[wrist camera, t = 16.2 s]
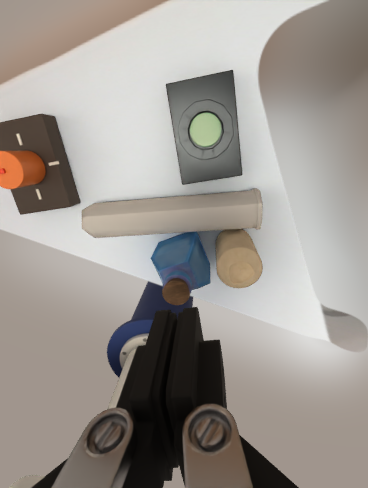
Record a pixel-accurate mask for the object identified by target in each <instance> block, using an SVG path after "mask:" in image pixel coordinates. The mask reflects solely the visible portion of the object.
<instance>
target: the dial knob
mask: <svg viewBox="0 0 368 488" xmlns="http://www.w3.org/2000/svg"><path fill="white" fill-rule="evenodd" d="M44 176H45V165H44V163H43V161H42V159H41V158H40V157H39V156H38V155H37V154H35V153H34V152H31V151H0V186H1V187H3V188H6V189H15V188H20V187H25V186H29V185H34V184H38V183H40V182H41V181H42V180H43V179H44Z"/></svg>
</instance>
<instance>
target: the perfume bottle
mask: <svg viewBox="0 0 368 488" xmlns="http://www.w3.org/2000/svg"><path fill="white" fill-rule="evenodd" d="M151 260H152V262H153V264H154V266H155V268H156V270H157V272H158V274H159V276H160V278H161V280H162V283H163V291H162V294H163V297H164V299H165V300H166V301H167V302H168V303H170V304H173V305H181V304H183V303H185V302H186V301H187V300H188V299H189V296H190V293H191V290H194V289H198V288H200V287H203V286H205V285H207V284H209V283H210V263H209V261H208V258H207V256H206V253H205V251H204V248H203V246H202V243H201V241H200V238H199V236H198V233H197V231H196V232H186V233H183V234H181V235H178V236H175V237H172V238H170V239H167V240H164V241H161V242H159V243H158V245H157V247H156V249H155V251H154V253H153V255H152V257H151Z"/></svg>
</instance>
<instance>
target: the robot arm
mask: <svg viewBox="0 0 368 488" xmlns="http://www.w3.org/2000/svg"><path fill="white" fill-rule="evenodd" d="M120 364H121V367H122V369H123V370H122V372H121V375H120V378H119V380H118V383H117V386H116V388H115V391H114V393H113V396H112V398H111V401H110V404H109V406H108V409H107V410H105V411H103V412H101V413H100V414H98V415H97V416H96V417H94V418H93V419H92V420H91V421H90V422H89V424H88V425H87V427H86V428H85V430H84V431H83V433H82V435H81V437H80V438H79V440H78V442H77V444H76V446H75V447H74V449H73V451H72V452H71V454H70V456H69V458H68V459H66V460H65V461H64V462H63V463H61V464H60V465H59V466H58V467H57V468H55V469H54V470H53V471H51V472H50V473H49V474H48V475H46V476H39V475H29V476H25V477H22V478H20V479H19V480H17V481H16V482H15V483H13V484H12V485H11V486H10V487H9V488H163V485H164V481H171V480H172V472H173V468H178V466H180V470H181V474H182V477H183V481H184V485H185V488H298V487H297V486H296V485H295V484H294V483H293V482H292V481H290V480H289V479H288V478H287V477H286V476H285V475H284V474H283V473H281V472H280V471H279V470H278V469H277V468H276V467H275V466H274V465H272V464H271V463H270V462H269V461H268V460H267V459H266V458H265V457H264V456H262V455H261V454H260V453H259V452H258V451H257V450H256V449H255V448H254V447H252V446H251V445H250V444H249V443H248V442H247V441H246V440H245V439H243V438H242V437H241V436H240V435H239V432H238V429H237V425H236V422H235V420H234V417H233V416H232V414H231V413H230V412H229V411H228V410H227V403H226V392H225V391H226V390H225V378H224V367H223V359H222V352H221V345H220V340H210V341H204V340H203V335H202V329H201V323H200V317H199V311H198V308H197V307H193V308H184V310H183V312H179V315H178V320H177V316H176V313H171V310H161V311H156V313H155V317H154V320H153V323H152V326H151V329H150V333H147V334H140V335H136V336H134V337H132V338H130V339H129V340H128V341H127V342H126V343H125V344H124V346H123V347H122V350H121V352H120Z"/></svg>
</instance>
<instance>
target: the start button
mask: <svg viewBox="0 0 368 488" xmlns="http://www.w3.org/2000/svg"><path fill="white" fill-rule="evenodd" d="M190 135H191V138H192V140H193V141H194V142H195V143H196V144H197V145H199V146H202V147H209V146H211V145H213V144H215V143H216V142H217V141H218V139H219V137H220V135H221V123H220V121H219V119H218V118H217V117H216V116H215V115H213V114H211V113H201V114H199V115H197V116H196V117H195V118H194V119H193V121H192V123H191V125H190Z"/></svg>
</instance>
